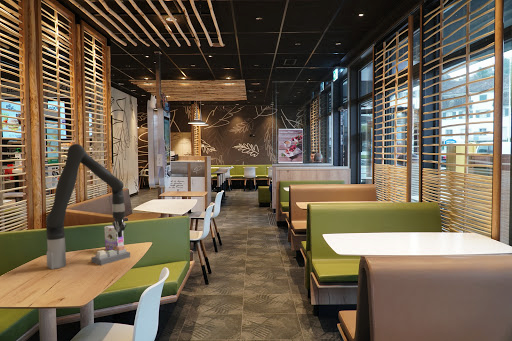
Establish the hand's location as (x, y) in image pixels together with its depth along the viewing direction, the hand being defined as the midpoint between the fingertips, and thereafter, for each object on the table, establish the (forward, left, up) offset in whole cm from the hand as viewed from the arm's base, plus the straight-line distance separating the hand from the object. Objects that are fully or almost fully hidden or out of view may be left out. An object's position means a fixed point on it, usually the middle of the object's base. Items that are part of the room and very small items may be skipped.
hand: (119, 237), depth 229 cm
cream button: (-13, 0, -9) cm, 16 cm away
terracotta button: (0, 0, -9) cm, 9 cm away
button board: (-7, 0, -13) cm, 15 cm away
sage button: (-7, 0, -10) cm, 12 cm away
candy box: (+7, +19, -13) cm, 25 cm away
